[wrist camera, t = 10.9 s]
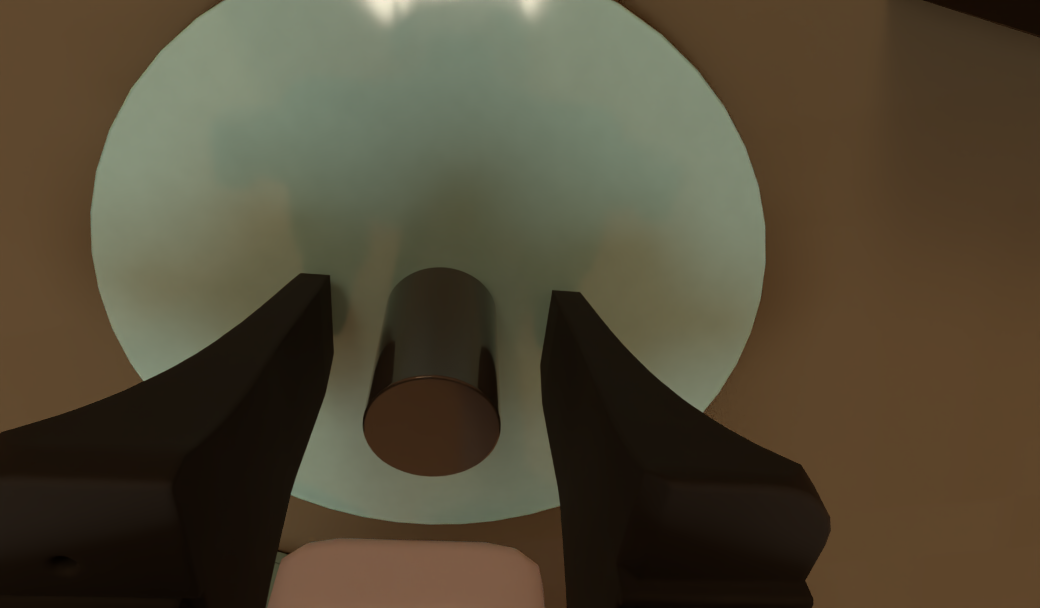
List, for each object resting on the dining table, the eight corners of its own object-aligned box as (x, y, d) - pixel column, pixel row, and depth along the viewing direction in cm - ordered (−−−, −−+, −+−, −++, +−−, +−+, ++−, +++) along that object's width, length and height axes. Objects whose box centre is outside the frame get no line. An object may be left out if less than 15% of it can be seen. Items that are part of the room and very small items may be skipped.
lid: (668, 502, 20) (715, 657, 16) (175, 485, 19) (94, 650, 15) (846, -11, 12) (1015, 47, 8) (28, -111, 11) (-222, -95, 7)
